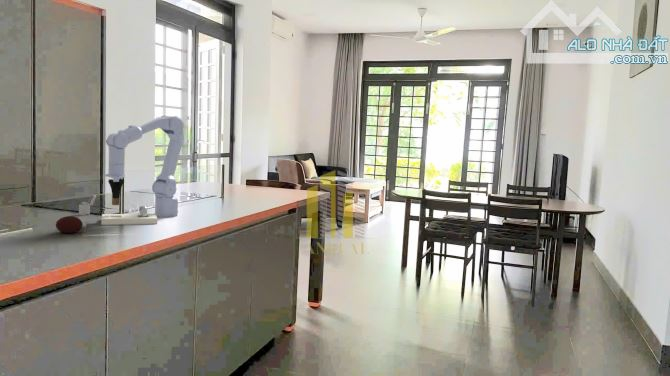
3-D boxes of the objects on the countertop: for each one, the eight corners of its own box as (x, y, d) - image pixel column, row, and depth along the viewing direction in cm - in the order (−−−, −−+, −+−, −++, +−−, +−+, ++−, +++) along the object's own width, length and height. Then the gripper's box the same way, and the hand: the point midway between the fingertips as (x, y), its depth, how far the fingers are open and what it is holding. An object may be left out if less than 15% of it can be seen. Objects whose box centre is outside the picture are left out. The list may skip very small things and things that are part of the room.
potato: (57, 230, 170) (57, 214, 169) (83, 230, 173) (83, 214, 172) (54, 235, 163) (54, 218, 162) (81, 234, 166) (81, 218, 165)
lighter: (81, 215, 198) (81, 196, 197) (78, 214, 199) (78, 196, 198) (96, 213, 205) (96, 195, 204) (93, 212, 206) (93, 194, 205)
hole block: (155, 220, 198) (155, 213, 197) (157, 225, 189) (157, 218, 188) (102, 221, 189) (102, 214, 189) (101, 226, 180) (101, 219, 180)
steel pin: (146, 220, 193) (146, 206, 192) (147, 222, 190) (147, 207, 190) (139, 220, 192) (139, 206, 191) (139, 222, 189) (139, 207, 188)
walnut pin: (119, 204, 191) (120, 184, 190) (119, 205, 188) (119, 185, 187) (111, 204, 190) (112, 184, 189) (111, 205, 187) (112, 185, 186)
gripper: (106, 161, 192) (105, 194, 194) (104, 164, 179) (104, 200, 181) (125, 162, 195) (124, 195, 197) (125, 165, 182) (124, 200, 183)
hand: (115, 197), depth 189 cm, fingers closed on walnut pin, 3 cm apart
